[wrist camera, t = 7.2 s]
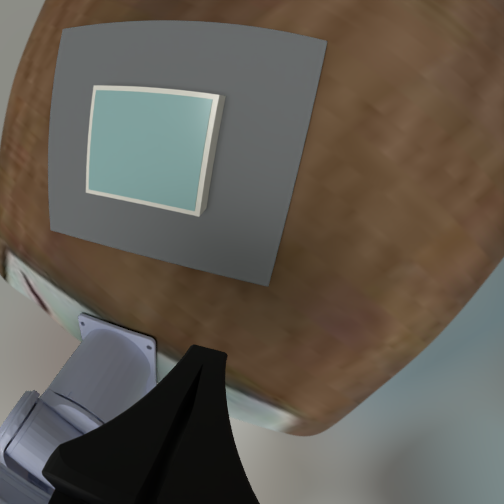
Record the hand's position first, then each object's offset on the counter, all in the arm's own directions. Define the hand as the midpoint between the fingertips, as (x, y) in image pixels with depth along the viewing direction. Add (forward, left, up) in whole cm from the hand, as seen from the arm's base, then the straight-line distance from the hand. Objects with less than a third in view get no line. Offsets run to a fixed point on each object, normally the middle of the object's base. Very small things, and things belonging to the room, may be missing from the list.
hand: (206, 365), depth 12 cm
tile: (+6, +3, -9) cm, 11 cm away
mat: (+6, +7, -10) cm, 14 cm away
